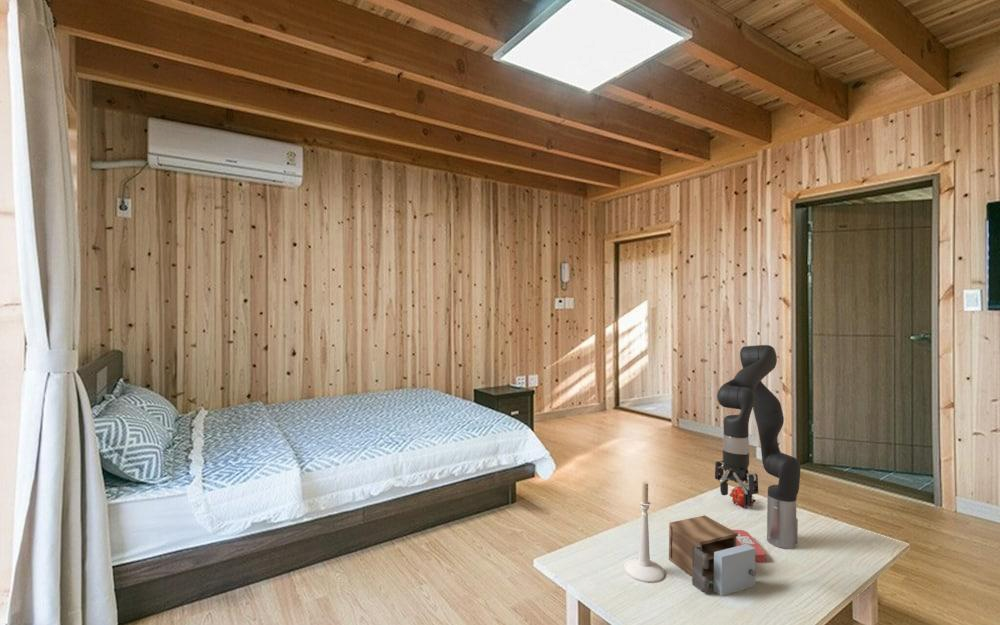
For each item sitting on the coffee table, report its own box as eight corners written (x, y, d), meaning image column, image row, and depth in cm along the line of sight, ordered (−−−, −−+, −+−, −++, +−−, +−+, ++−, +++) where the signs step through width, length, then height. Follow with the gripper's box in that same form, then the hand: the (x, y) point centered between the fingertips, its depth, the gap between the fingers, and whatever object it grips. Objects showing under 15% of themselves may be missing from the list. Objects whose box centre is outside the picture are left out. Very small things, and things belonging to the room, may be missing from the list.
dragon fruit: (733, 502, 212) (752, 518, 201) (721, 493, 210) (739, 508, 199) (744, 487, 212) (764, 502, 201) (732, 478, 210) (751, 492, 199)
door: (713, 590, 144) (714, 552, 144) (746, 580, 149) (747, 543, 149) (724, 598, 140) (725, 559, 140) (758, 588, 146) (758, 550, 145)
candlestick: (672, 580, 149) (673, 487, 149) (634, 584, 147) (635, 490, 146) (652, 559, 162) (653, 473, 161) (617, 562, 160) (618, 475, 159)
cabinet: (704, 551, 167) (705, 515, 167) (752, 582, 149) (753, 541, 148) (660, 562, 160) (660, 524, 160) (704, 595, 141) (705, 553, 141)
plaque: (705, 526, 179) (745, 528, 177) (705, 536, 179) (745, 538, 178) (723, 551, 161) (768, 553, 160) (723, 562, 161) (768, 564, 160)
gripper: (709, 444, 153) (708, 493, 153) (746, 457, 139) (746, 511, 140) (726, 441, 155) (725, 489, 156) (764, 454, 142) (764, 507, 143)
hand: (735, 500), depth 148 cm, fingers open, 8 cm apart
